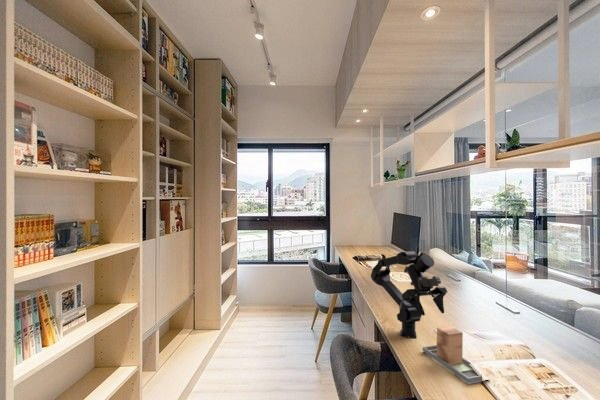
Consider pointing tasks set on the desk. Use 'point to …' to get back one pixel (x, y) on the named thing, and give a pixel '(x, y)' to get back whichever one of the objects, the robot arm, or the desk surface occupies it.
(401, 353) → the desk surface
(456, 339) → the terracotta block
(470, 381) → the trap box
